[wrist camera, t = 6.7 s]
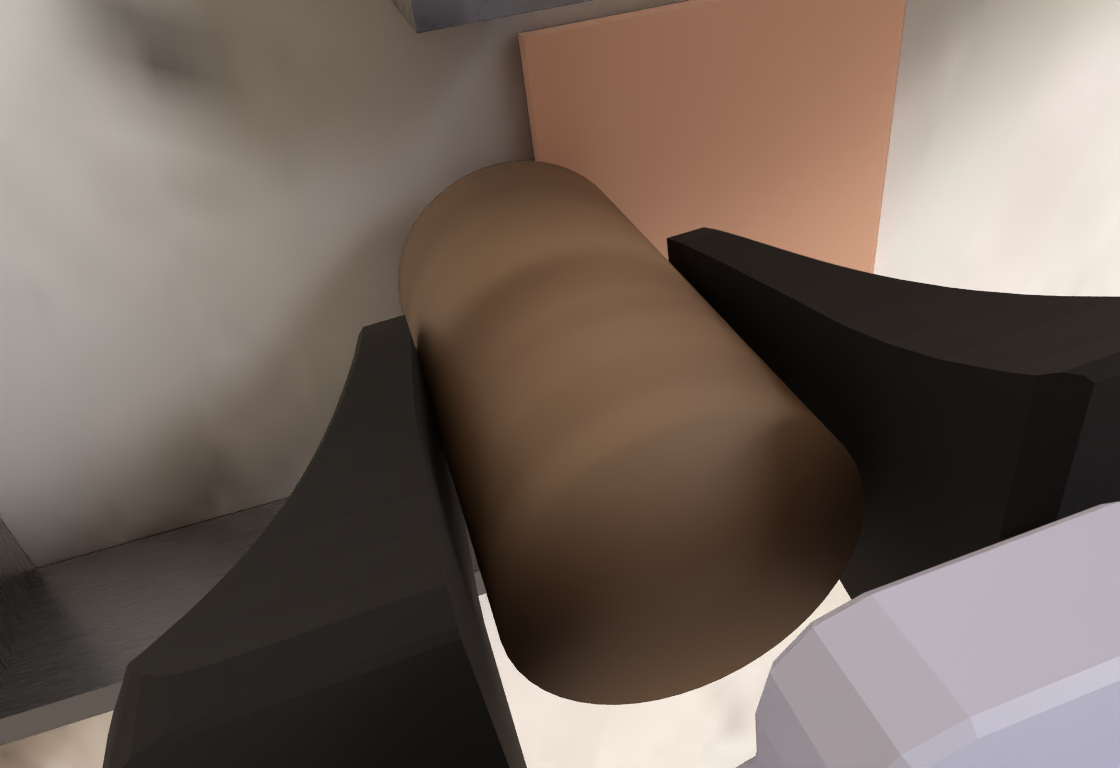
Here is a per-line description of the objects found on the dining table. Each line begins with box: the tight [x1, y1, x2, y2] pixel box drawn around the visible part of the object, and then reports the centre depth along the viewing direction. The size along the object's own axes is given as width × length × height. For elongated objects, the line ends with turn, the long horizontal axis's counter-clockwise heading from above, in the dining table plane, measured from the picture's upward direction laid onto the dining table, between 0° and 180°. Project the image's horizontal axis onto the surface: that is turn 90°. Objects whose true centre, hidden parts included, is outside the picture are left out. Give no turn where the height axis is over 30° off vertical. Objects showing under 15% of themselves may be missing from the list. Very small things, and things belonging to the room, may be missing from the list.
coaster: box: [518, 0, 906, 274], centre depth 16 cm, size 7×7×1 cm
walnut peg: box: [398, 161, 864, 705], centre depth 11 cm, size 4×4×7 cm
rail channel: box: [0, 0, 591, 746], centre depth 11 cm, size 12×18×4 cm
